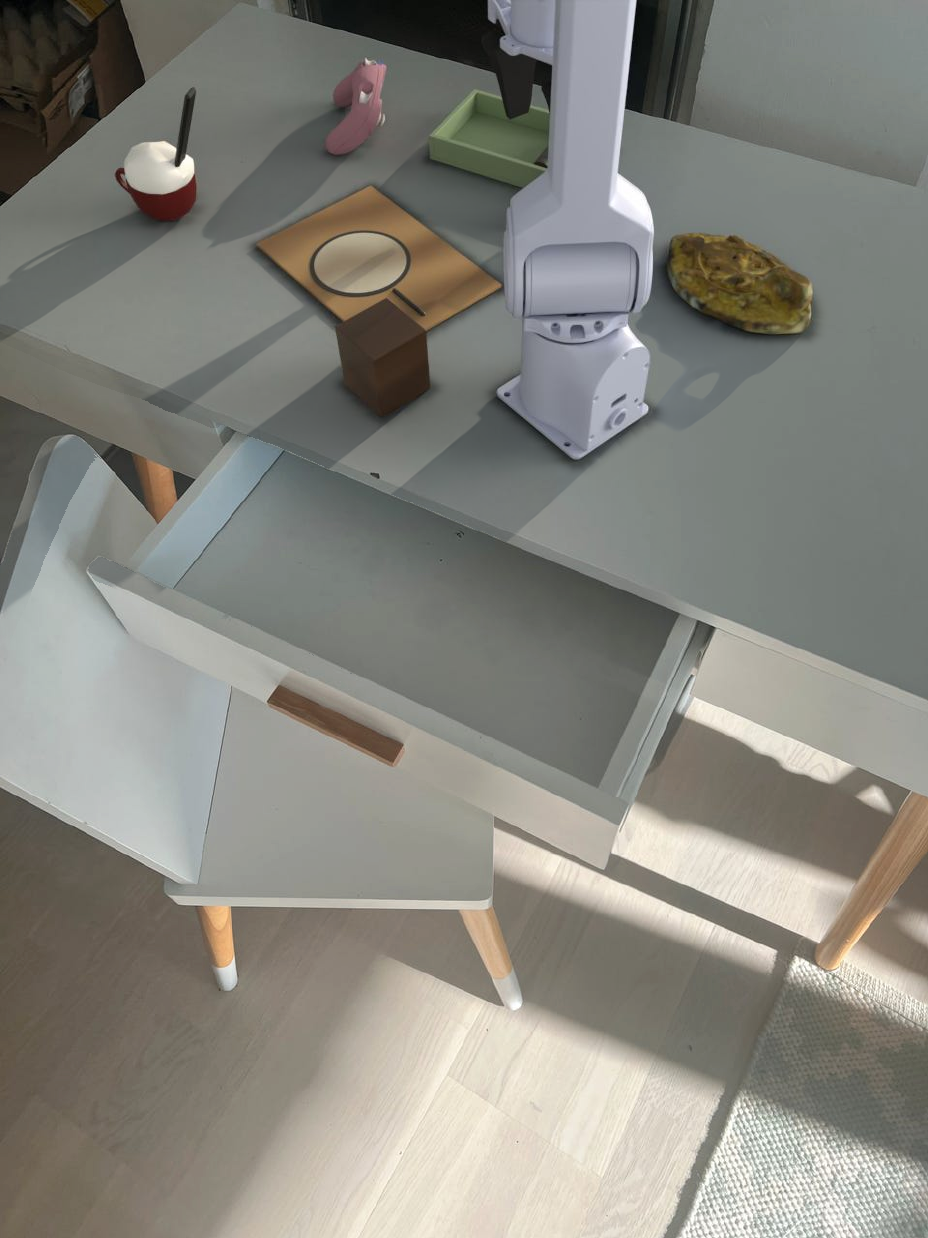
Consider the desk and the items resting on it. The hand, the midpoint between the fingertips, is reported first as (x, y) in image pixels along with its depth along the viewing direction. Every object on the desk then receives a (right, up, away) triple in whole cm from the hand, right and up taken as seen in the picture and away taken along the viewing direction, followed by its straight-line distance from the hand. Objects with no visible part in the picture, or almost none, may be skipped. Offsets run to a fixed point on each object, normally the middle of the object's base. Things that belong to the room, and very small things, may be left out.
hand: (540, 134), depth 90 cm
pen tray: (-2, +1, +7) cm, 7 cm away
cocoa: (-34, -6, +4) cm, 35 cm away
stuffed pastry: (+16, -15, -4) cm, 23 cm away
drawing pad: (-15, -12, -1) cm, 19 cm away
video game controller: (-17, +5, +10) cm, 21 cm away
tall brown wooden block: (-13, -25, -9) cm, 30 cm away
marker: (0, -2, +3) cm, 4 cm away
